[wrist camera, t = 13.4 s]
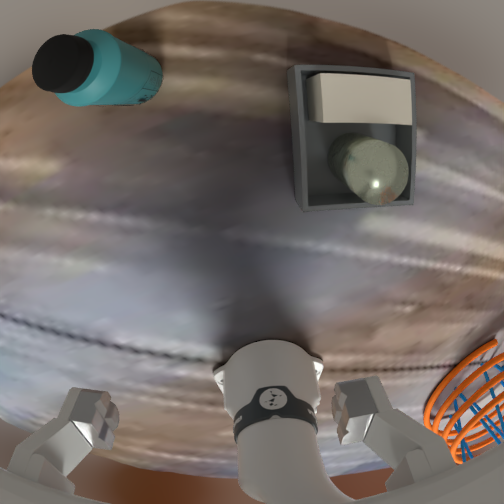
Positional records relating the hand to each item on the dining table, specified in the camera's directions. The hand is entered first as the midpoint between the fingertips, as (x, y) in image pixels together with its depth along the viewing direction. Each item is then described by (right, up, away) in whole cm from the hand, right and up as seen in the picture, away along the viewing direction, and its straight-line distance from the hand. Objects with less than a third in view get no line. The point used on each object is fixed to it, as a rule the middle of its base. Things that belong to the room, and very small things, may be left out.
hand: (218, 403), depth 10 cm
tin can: (+13, +17, +26) cm, 33 cm away
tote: (+13, +20, +25) cm, 34 cm away
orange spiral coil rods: (+60, -30, +51) cm, 84 cm away
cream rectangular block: (+12, +23, +23) cm, 35 cm away
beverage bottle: (-12, +26, +21) cm, 35 cm away
